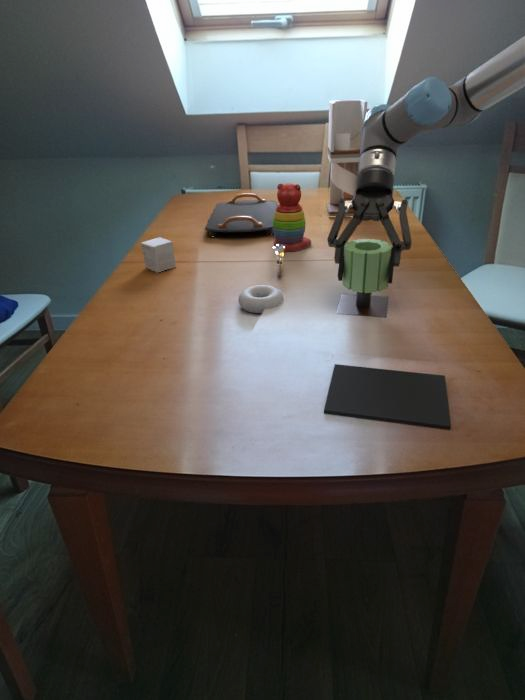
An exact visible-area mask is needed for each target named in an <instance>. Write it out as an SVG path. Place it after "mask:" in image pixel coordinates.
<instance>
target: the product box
mask: <svg viewBox="0 0 525 700" xmlns="http://www.w3.org/2000/svg"><path fill="white" fill-rule="evenodd" d="M140 244H141V250H142V255H143V261H144V267H146V268H149V269H151V270H153V271H155V272H154V273H156V272H157V273H156V274H159V273H158V272H161V271H164V270H167V269H170V268H173V267H175V268H176V267H177V266H176V258H175V251H174V243H173V241H172V240H168V239H166V238H163V237H160V236H159V237H155V238H152V239H151V238H150V239H148V240H145V241H142V242H141V243H140ZM146 268H145V269H146ZM149 269H148V270H149ZM173 269H174V268H173ZM151 270H150V271H151ZM170 270H171V269H170ZM153 271H152V272H153ZM167 271H168V270H167ZM164 272H165V271H164ZM161 273H162V272H161Z"/></svg>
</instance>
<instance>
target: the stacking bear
mask: <svg viewBox="0 0 525 700" xmlns="http://www.w3.org/2000/svg"><path fill="white" fill-rule="evenodd" d="M276 189H277V193H276V197H277V202H278V204H277V207H276V210H275V213H274V218H273V229H272V230H273V236H274V241H273V247H274V246H276V244H277V245H278V243H279V246H281V244H283V246H285V249H284V253H285V252H287V253H289V252H290V253H291V252H298V251H302V250H304V249H306V248H308V247H310V246H311V245H312V240H311V239H310V238H309V237H306V236H304V235H305V232H306V224H307V223H306V217H305V212H304V209H303V207H302V205H301V204H300V201H301V199H302V190H301V189H302V188H301V185H299V184H297V183H296V184H294V183H284V184H283V183H279V184H277V188H276ZM282 249H283V248H282Z"/></svg>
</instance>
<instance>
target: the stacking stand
mask: <svg viewBox="0 0 525 700" xmlns="http://www.w3.org/2000/svg"><path fill="white" fill-rule="evenodd" d="M388 303H389V296H383V295H372V293H365V292H364V291H363V292H362V293H360V292H356V294H353V293H341V296H340V299H339V303H338V305H337V310H336V315H346V316H359V317H373V318H384V319H386V318H387V316H388V305H389V304H388Z"/></svg>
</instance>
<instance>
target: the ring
mask: <svg viewBox="0 0 525 700" xmlns="http://www.w3.org/2000/svg"><path fill="white" fill-rule="evenodd" d="M282 248H283V249H282ZM272 249H273V251H274V253H275V256H276V270H277V271H276V273H277V276H282V268H283V259H284V255H285V251H284V249H285V246H283V244H281V246H279V243H278V245H277V244H276V246H274V245H273V246H272Z"/></svg>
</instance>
